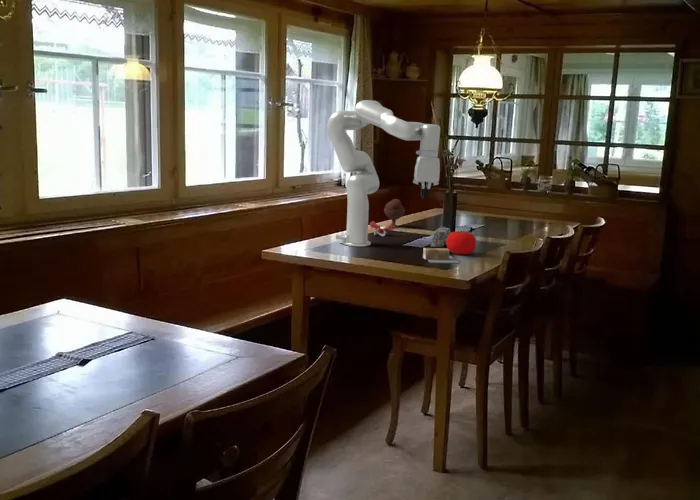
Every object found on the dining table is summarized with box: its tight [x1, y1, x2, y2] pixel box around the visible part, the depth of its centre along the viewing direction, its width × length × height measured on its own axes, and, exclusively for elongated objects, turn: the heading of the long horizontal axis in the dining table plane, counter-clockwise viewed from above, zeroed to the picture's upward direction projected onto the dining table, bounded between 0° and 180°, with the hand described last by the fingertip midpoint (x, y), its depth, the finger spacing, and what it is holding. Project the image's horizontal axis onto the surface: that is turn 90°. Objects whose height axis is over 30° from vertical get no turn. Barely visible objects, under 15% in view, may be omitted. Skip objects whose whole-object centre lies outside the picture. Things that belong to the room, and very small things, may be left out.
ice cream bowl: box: [383, 198, 406, 229], centre depth 381 cm, size 11×11×15 cm
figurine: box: [368, 220, 396, 237], centre depth 357 cm, size 15×12×7 cm
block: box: [422, 247, 451, 261], centre depth 304 cm, size 4×4×10 cm
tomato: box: [445, 230, 477, 255], centre depth 318 cm, size 11×13×10 cm
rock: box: [429, 225, 451, 248], centre depth 335 cm, size 16×8×10 cm, turn 146°
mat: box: [426, 254, 460, 264], centre depth 305 cm, size 12×14×1 cm
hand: (424, 198), depth 309 cm, fingers closed
